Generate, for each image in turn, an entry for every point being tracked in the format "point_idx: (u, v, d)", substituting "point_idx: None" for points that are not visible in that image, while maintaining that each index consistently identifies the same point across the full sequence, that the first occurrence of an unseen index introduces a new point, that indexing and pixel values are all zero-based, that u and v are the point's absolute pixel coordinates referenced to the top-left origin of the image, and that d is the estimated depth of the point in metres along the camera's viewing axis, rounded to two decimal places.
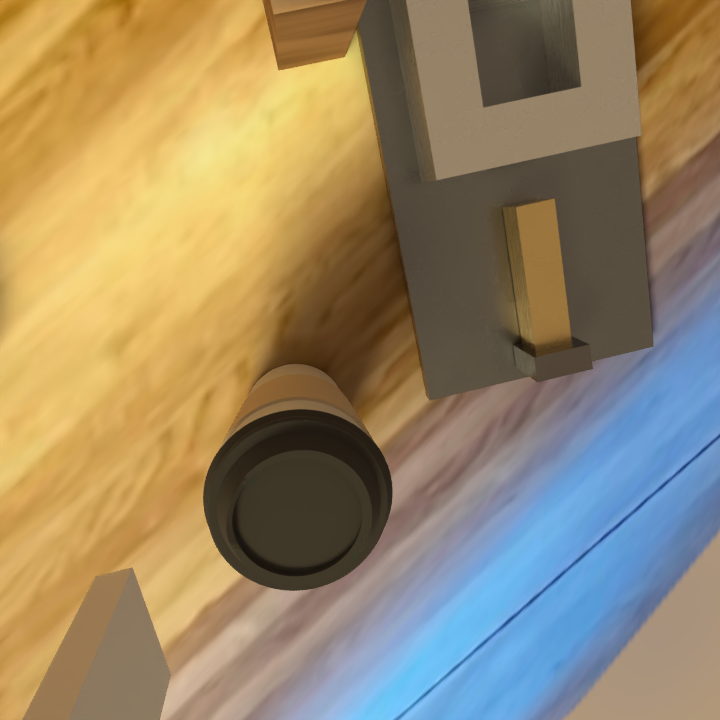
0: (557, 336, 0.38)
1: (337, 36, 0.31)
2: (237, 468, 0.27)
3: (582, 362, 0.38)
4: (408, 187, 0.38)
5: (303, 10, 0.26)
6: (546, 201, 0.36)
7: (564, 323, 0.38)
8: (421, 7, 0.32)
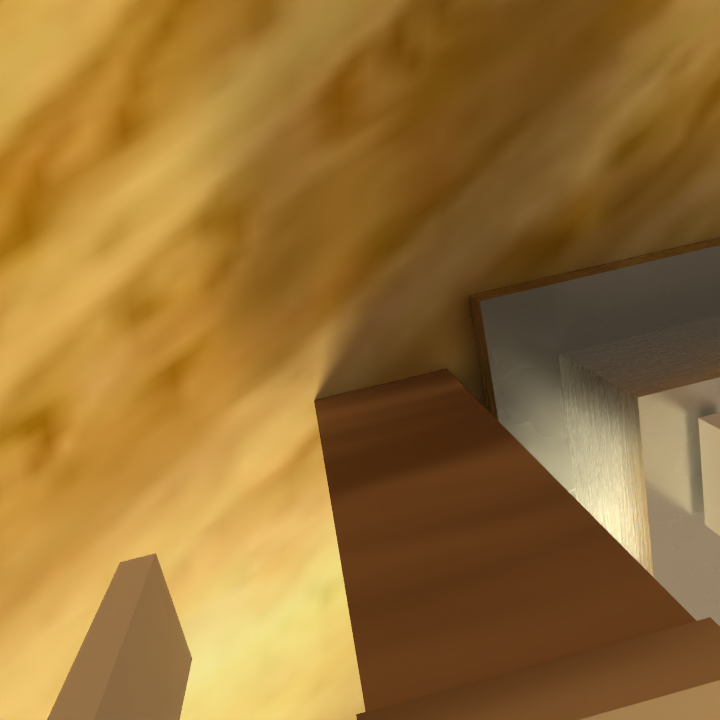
0: None
1: None
2: None
3: None
4: None
5: None
6: None
7: None
8: (679, 524, 0.14)
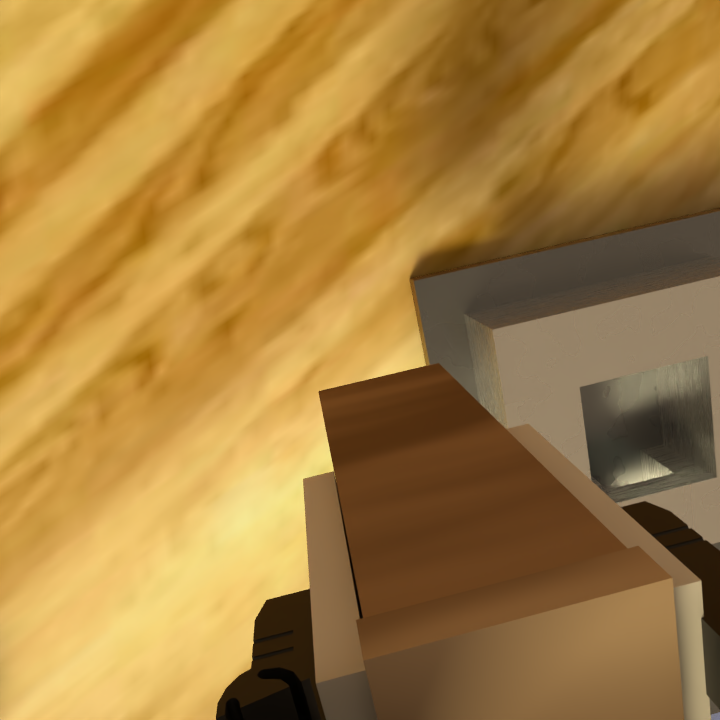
0: None
1: None
2: None
3: None
4: None
5: None
6: None
7: None
8: (522, 405, 0.25)
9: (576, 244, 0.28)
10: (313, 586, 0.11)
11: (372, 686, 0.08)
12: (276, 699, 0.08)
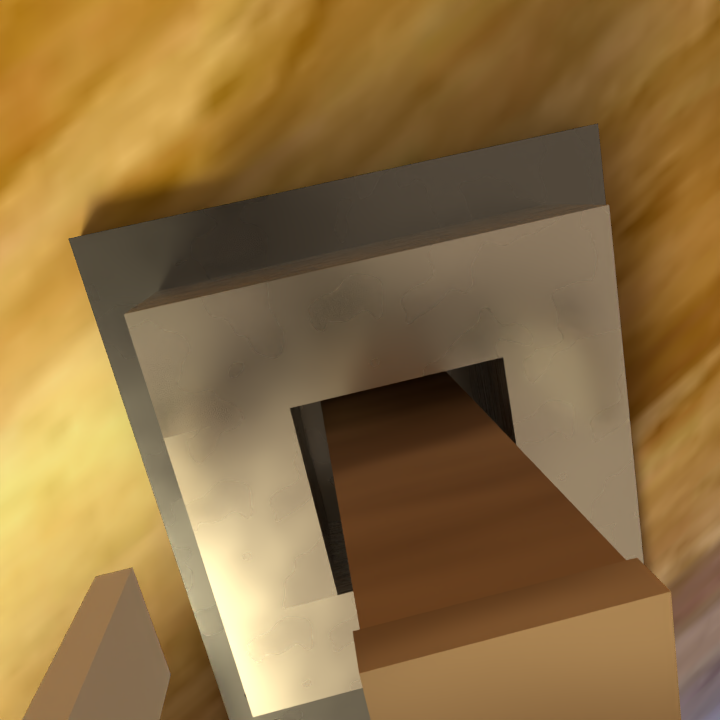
0: None
1: None
2: None
3: None
4: None
5: None
6: None
7: None
8: (195, 438, 0.15)
9: (328, 183, 0.18)
10: None
11: (368, 699, 0.08)
12: None
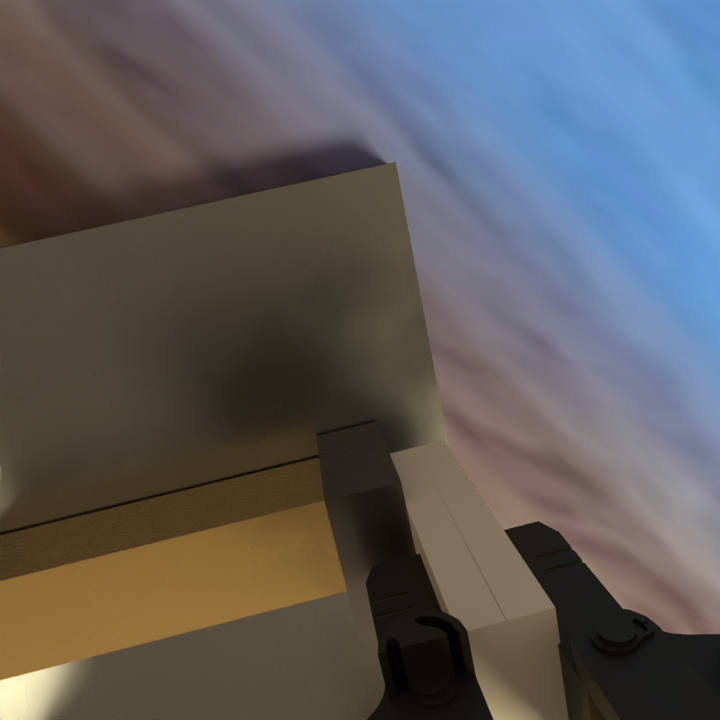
0: (310, 540, 0.14)
1: None
2: None
3: (380, 514, 0.13)
4: None
5: None
6: None
7: (273, 526, 0.14)
8: None
9: None
10: (427, 549, 0.11)
11: None
12: (434, 645, 0.08)
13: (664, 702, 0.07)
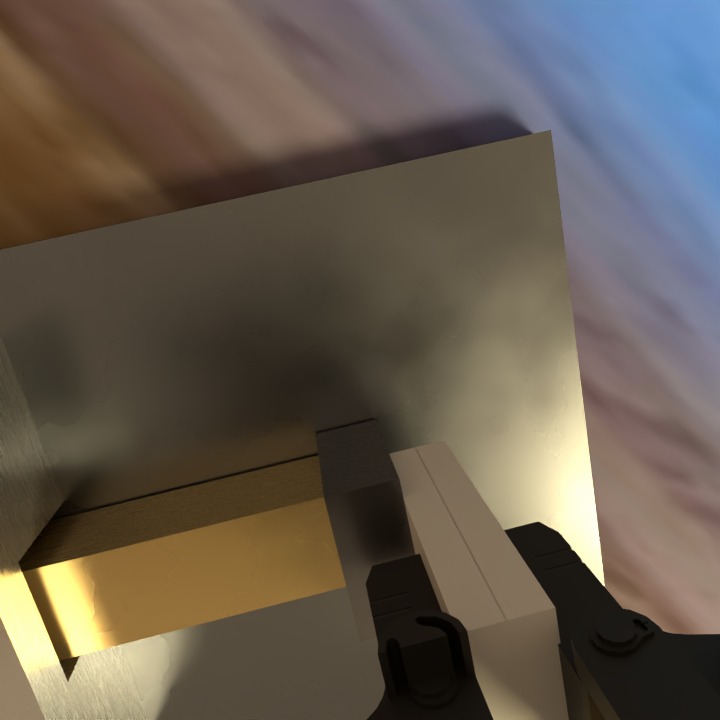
0: (309, 536, 0.14)
1: None
2: None
3: (378, 511, 0.13)
4: None
5: None
6: None
7: (273, 522, 0.14)
8: None
9: None
10: (427, 549, 0.11)
11: None
12: (434, 645, 0.08)
13: (664, 702, 0.07)
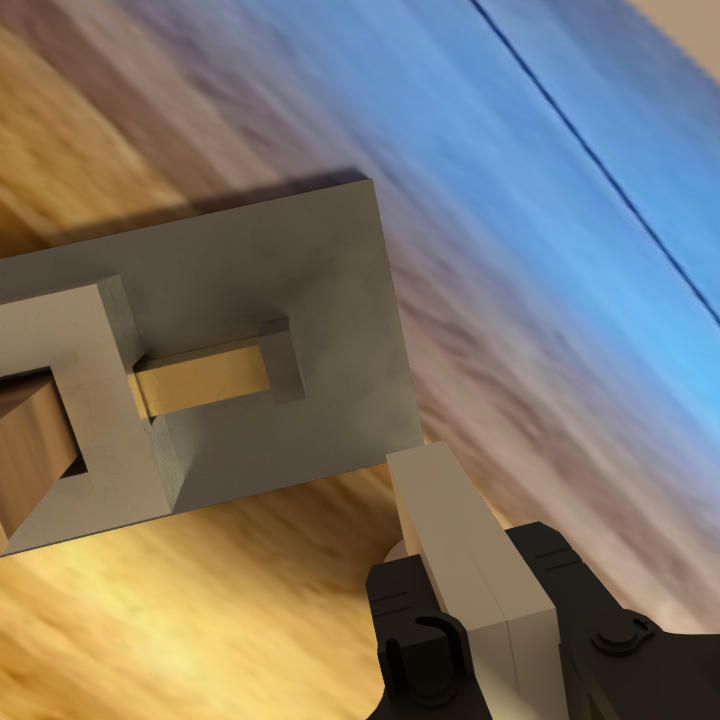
0: (254, 363, 0.31)
1: (41, 410, 0.28)
2: None
3: (281, 344, 0.30)
4: (190, 491, 0.35)
5: (2, 506, 0.23)
6: None
7: (237, 355, 0.31)
8: None
9: None
10: (427, 549, 0.11)
11: None
12: (433, 645, 0.08)
13: (664, 702, 0.07)
